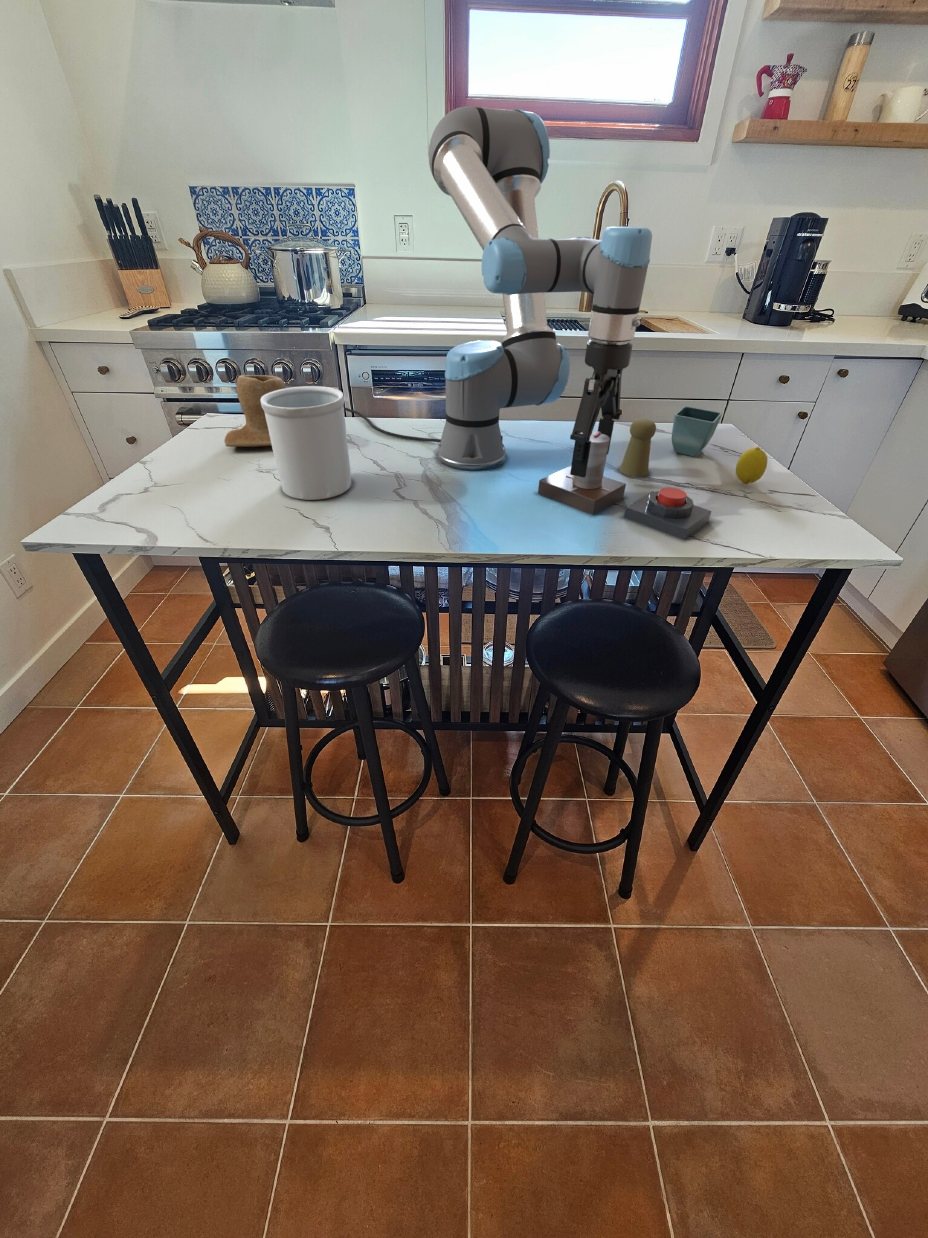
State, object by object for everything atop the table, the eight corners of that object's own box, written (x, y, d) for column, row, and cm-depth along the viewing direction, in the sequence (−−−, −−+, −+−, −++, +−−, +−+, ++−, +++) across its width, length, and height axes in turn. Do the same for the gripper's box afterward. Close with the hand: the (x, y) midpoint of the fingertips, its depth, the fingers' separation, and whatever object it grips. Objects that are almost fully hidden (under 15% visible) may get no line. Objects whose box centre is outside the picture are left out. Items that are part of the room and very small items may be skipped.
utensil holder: (263, 485, 110) (244, 395, 100) (325, 465, 119) (313, 380, 108) (306, 509, 102) (289, 413, 92) (368, 485, 111) (360, 396, 100)
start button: (652, 501, 99) (654, 492, 98) (664, 493, 102) (667, 484, 101) (676, 510, 97) (679, 500, 96) (689, 501, 100) (691, 492, 99)
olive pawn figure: (648, 478, 117) (661, 426, 110) (619, 475, 118) (630, 423, 111) (646, 467, 122) (658, 417, 115) (619, 464, 122) (629, 414, 116)
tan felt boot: (298, 433, 135) (287, 367, 126) (295, 450, 126) (283, 381, 117) (234, 435, 133) (218, 369, 124) (226, 453, 123) (208, 383, 114)
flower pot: (711, 450, 131) (723, 412, 125) (702, 462, 125) (714, 422, 119) (674, 442, 134) (684, 405, 129) (664, 453, 128) (674, 414, 123)
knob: (595, 491, 104) (604, 442, 98) (568, 484, 106) (575, 437, 100) (605, 481, 108) (614, 434, 102) (578, 475, 110) (585, 428, 104)
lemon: (759, 482, 116) (772, 445, 111) (758, 492, 112) (772, 454, 107) (731, 477, 118) (743, 440, 113) (729, 486, 114) (742, 449, 109)
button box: (623, 517, 102) (627, 497, 100) (650, 501, 108) (654, 482, 105) (683, 540, 96) (689, 519, 93) (708, 521, 101) (714, 501, 99)
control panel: (537, 494, 110) (539, 479, 108) (569, 478, 116) (571, 464, 114) (592, 515, 103) (595, 499, 101) (623, 497, 109) (626, 482, 107)
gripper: (609, 356, 81) (586, 491, 94) (651, 331, 99) (627, 447, 112) (562, 350, 84) (546, 481, 97) (611, 326, 101) (592, 440, 114)
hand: (590, 463), depth 104 cm, fingers open, 12 cm apart
